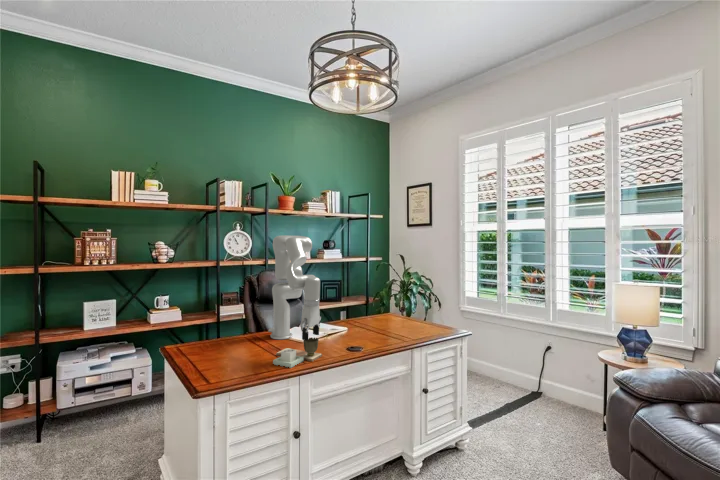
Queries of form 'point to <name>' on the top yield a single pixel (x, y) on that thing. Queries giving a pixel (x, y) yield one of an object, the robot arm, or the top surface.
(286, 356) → the block
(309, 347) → the dark bronze flared dome
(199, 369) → the top surface
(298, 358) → the tray
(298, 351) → the track
